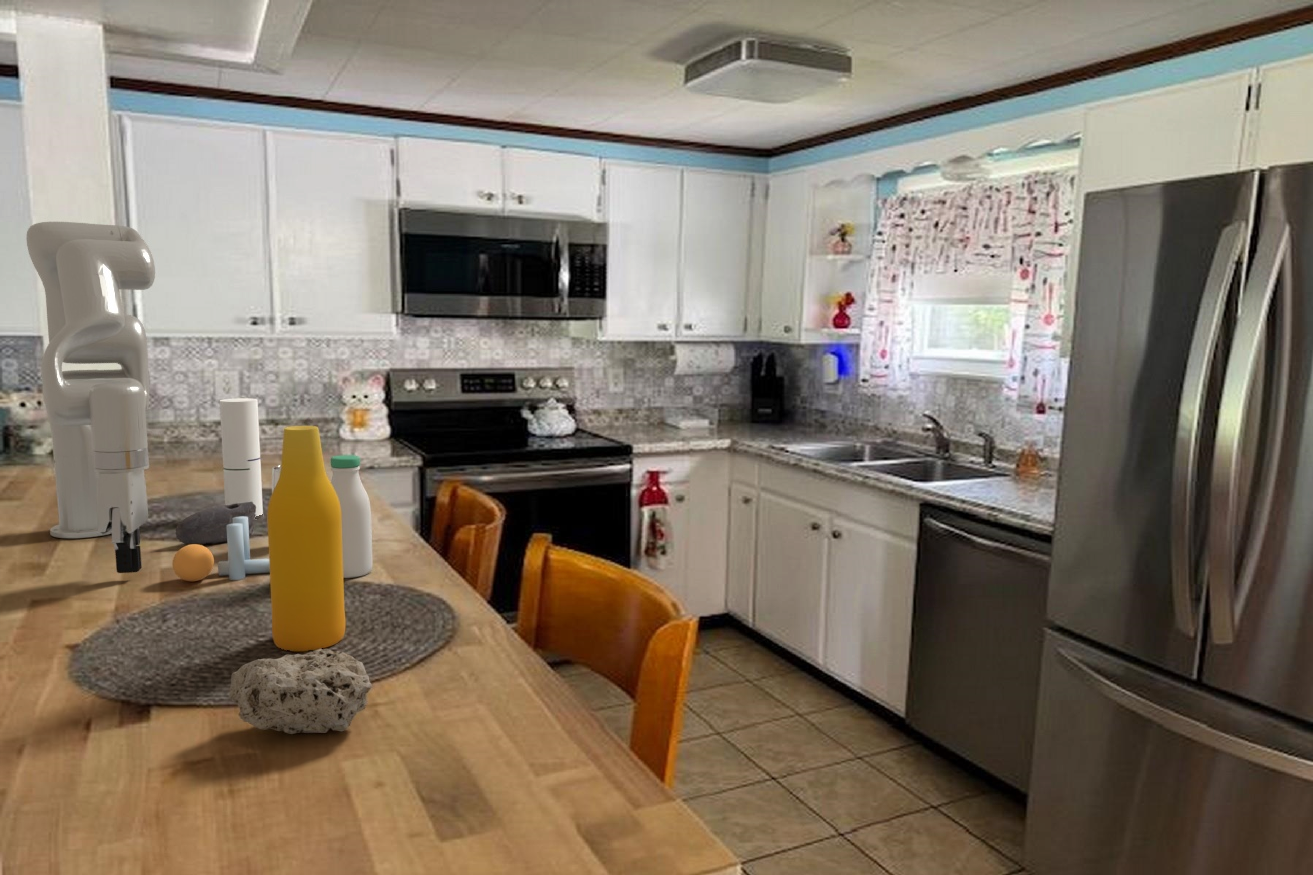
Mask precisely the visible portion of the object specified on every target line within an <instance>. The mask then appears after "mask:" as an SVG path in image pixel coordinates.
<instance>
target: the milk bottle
mask: <svg viewBox="0 0 1313 875" xmlns="http://www.w3.org/2000/svg"><path fill="white" fill-rule="evenodd" d="M360 465H361V460H360V456H358V455H354V454H342V455H333V456H332V457H330V467H331V468H330V470H331V471H332V477H331V480H330V482H331V484H332V486H333V488H334V490H335V492H336V494H337V496H338V499H339V502H340V507H341V523H342V553H343V579H351V578H358V577H363V576H365V575H368V574H370V573H371V572H372V570H373V565H374V564H373V537H372V536H373V535H372V534H373V533H372V513H371V502H370V497H369V495H368V493H367V491H366V489H365V487H364V485H363V483H362V480H361V477H360V474H359V472H360V469H361V467H360Z"/></svg>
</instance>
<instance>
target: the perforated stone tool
mask: <svg viewBox="0 0 1313 875" xmlns="http://www.w3.org/2000/svg"><path fill="white" fill-rule="evenodd" d="M255 512H256V505H254V504H253V502H245V503H236V504H232V505H225V504H224V505H220V506H215V507H211V508H207V509H204V510H201V511H199V512H196V513H194V514H193V513H192V514H191V515H189V516H187V517H185V518H184V519H183V520H181V521H179V523H178V524H177V525H176V528H175V536H176V539H177V540H178V541H179V543H182V544H184V545H186V546H187V545H191V544H198V545H202V546H203V545H205V544H206V543H207V544H210V545H214V544H220V543H222V544H223V543H227V525H228V524H233V520H232V518H234V517H240V516H246V517H248V526H249V537H251V536H252V534H253V532H254V525H255V520H256V519H255V516H256V514H255Z"/></svg>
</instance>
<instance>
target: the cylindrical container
mask: <svg viewBox="0 0 1313 875" xmlns="http://www.w3.org/2000/svg"><path fill="white" fill-rule="evenodd" d="M219 408H220V409H219V412H220V414H219V416H220V428H221V430H220V431H221V434H220V435H221V450H222V467H223V469H222V470H223V471H222V472H223V487H224V489H223V490H224V491H223V492H224V505H232V504H236V503H245V502H253V504H254V505H256V512H255V514H256V516H259V515H262V514H263V515H264V508H263V489H262V488H263V487H262V486H263V485H262V466H261V447H260V446H261V445H260V424H259V423H260V422H259V421H260V419H259V403H258V398H246V397H243V398H241V397H239V398H225V399H220V400H219ZM256 516H255V517H256Z"/></svg>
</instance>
